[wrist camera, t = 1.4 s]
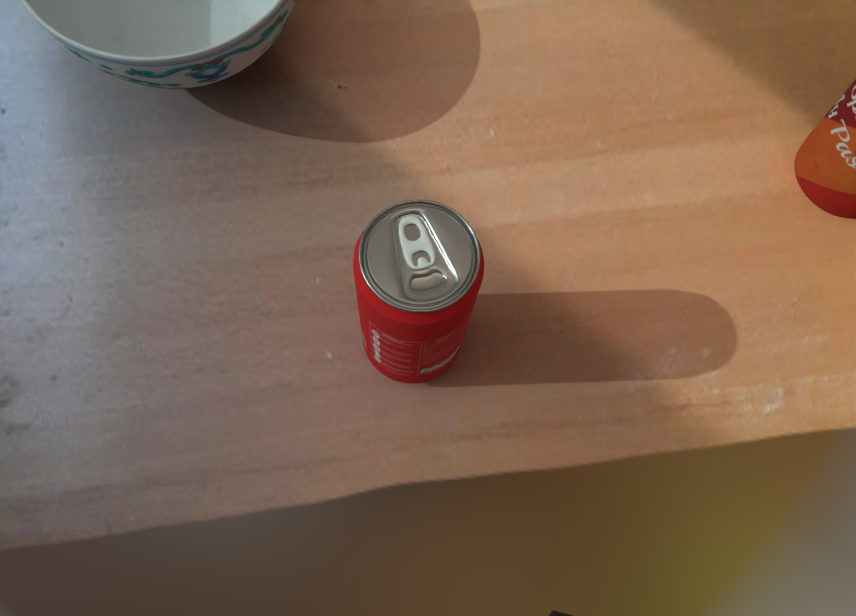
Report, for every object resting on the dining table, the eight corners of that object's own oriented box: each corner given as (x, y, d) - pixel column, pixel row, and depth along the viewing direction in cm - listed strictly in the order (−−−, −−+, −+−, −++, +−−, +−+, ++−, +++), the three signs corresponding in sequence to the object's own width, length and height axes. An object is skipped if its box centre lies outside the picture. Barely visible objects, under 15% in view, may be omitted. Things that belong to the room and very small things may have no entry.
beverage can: (378, 399, 38) (373, 334, 27) (352, 310, 40) (336, 212, 28) (471, 372, 39) (505, 297, 28) (442, 285, 40) (462, 179, 29)
